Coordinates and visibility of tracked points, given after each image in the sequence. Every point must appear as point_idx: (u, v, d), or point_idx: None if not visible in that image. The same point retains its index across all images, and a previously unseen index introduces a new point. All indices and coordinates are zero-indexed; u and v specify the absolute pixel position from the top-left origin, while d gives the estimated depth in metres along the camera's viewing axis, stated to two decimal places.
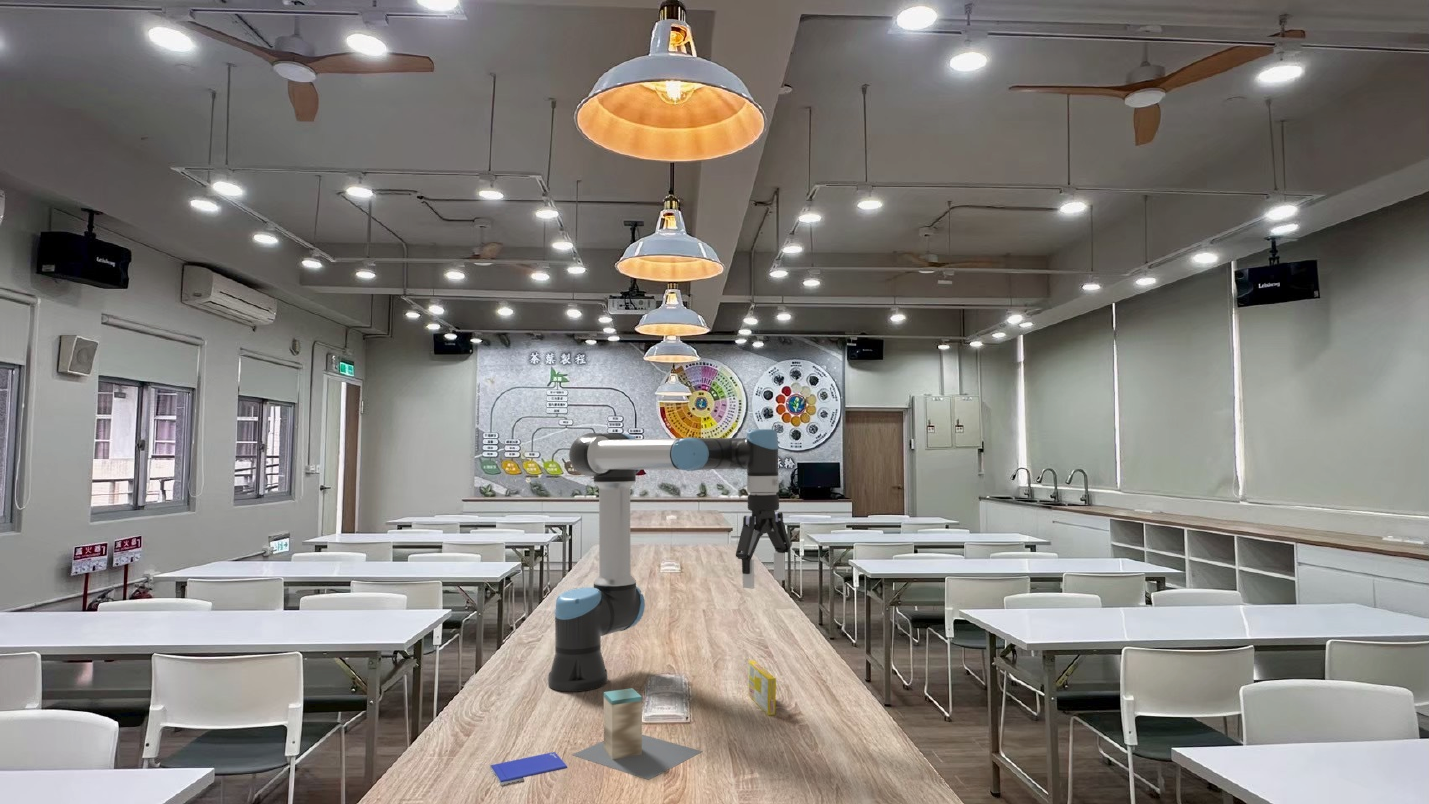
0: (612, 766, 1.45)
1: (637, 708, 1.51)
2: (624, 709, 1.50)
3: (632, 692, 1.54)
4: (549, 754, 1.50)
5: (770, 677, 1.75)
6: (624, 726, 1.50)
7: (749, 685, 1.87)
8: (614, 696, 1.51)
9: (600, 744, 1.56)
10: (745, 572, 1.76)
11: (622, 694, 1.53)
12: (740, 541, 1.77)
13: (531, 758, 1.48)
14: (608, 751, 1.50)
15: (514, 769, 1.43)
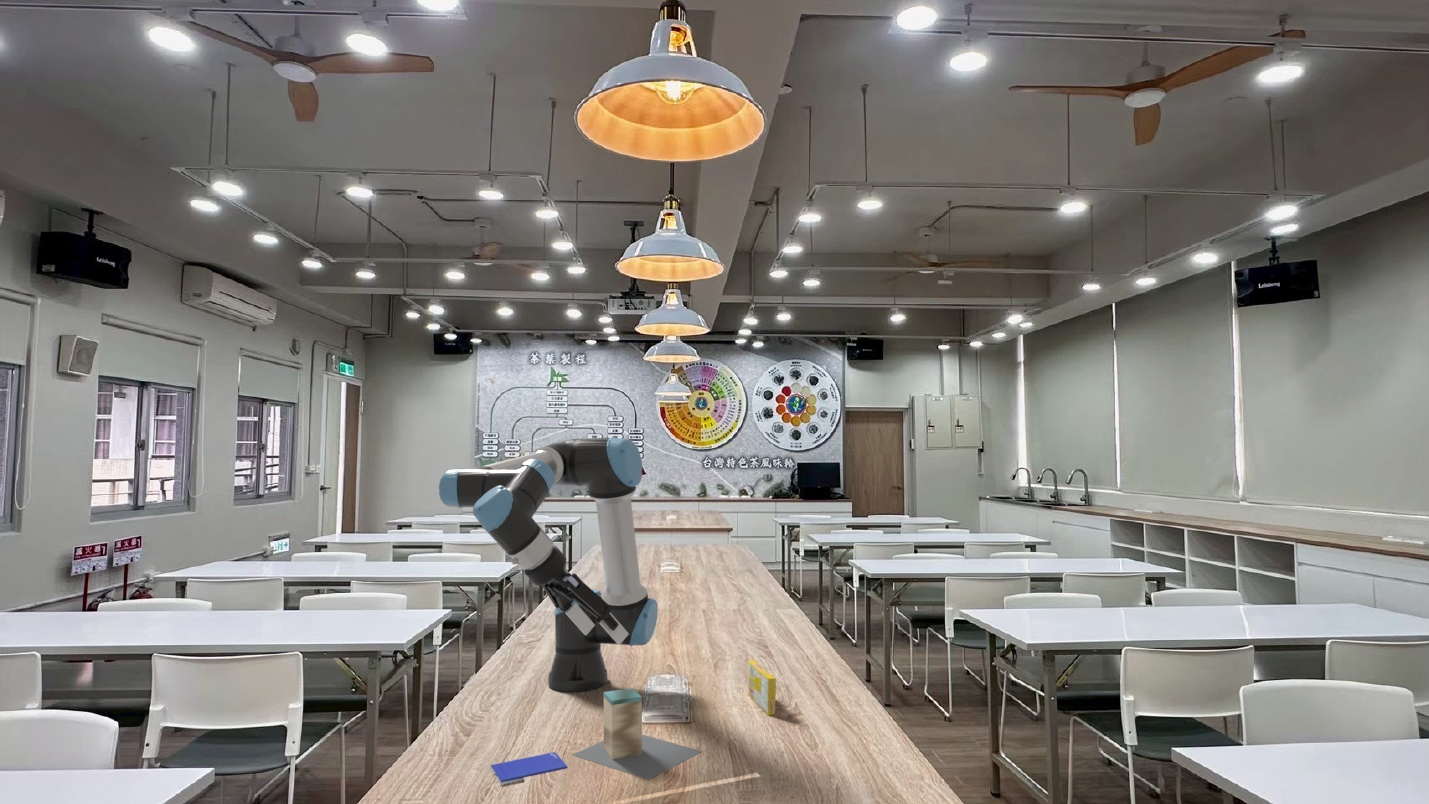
0: (612, 766, 1.45)
1: (637, 708, 1.51)
2: (624, 709, 1.50)
3: (632, 692, 1.54)
4: (549, 754, 1.50)
5: (770, 677, 1.75)
6: (624, 726, 1.50)
7: (749, 685, 1.87)
8: (614, 696, 1.51)
9: (600, 744, 1.56)
10: None
11: (622, 694, 1.53)
12: None
13: (531, 758, 1.48)
14: (608, 751, 1.50)
15: (514, 768, 1.43)
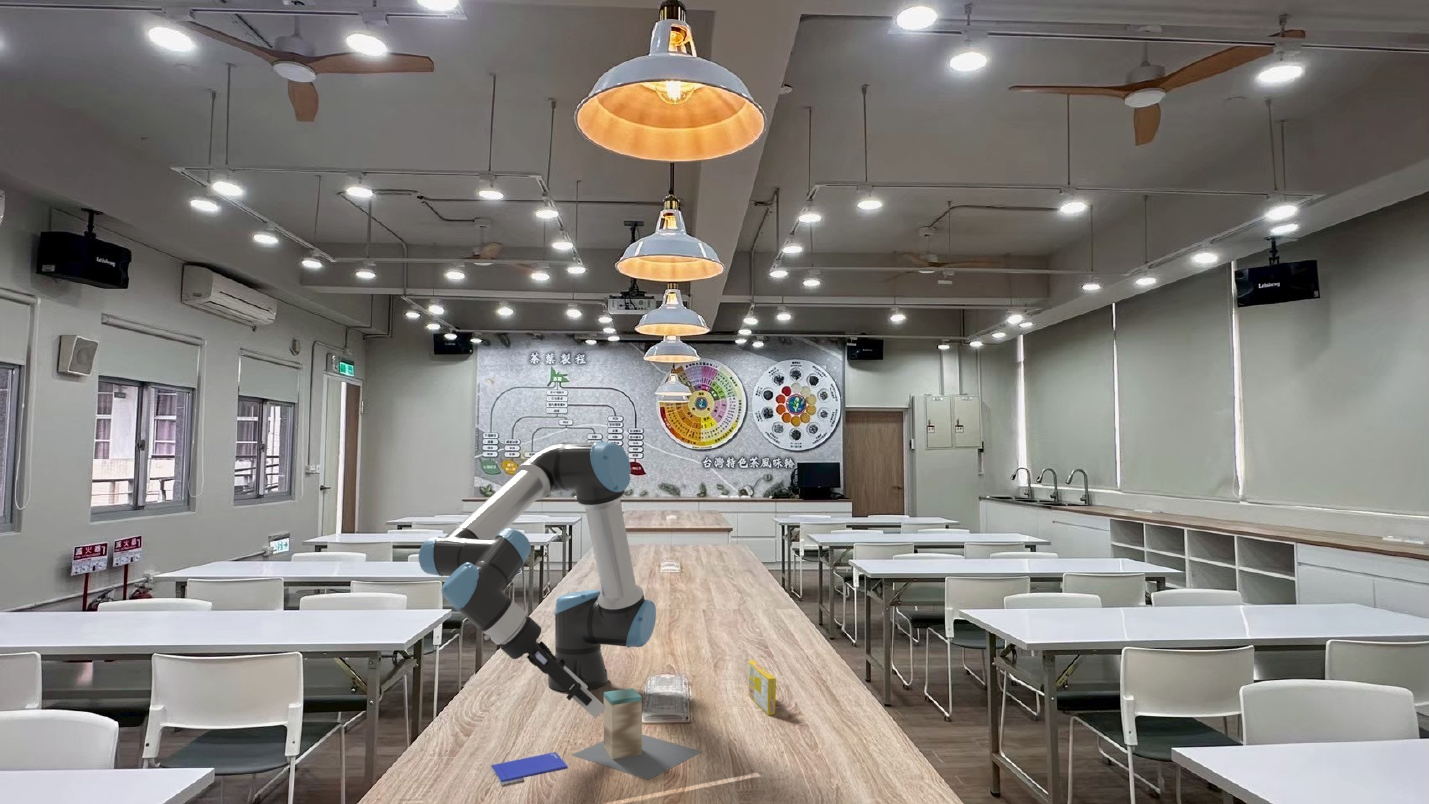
0: (612, 766, 1.45)
1: (637, 708, 1.51)
2: (624, 709, 1.50)
3: (632, 692, 1.54)
4: (549, 754, 1.50)
5: (770, 677, 1.75)
6: (624, 726, 1.50)
7: (749, 685, 1.87)
8: (614, 696, 1.51)
9: (600, 744, 1.56)
10: None
11: (622, 694, 1.53)
12: None
13: (532, 758, 1.48)
14: (608, 751, 1.50)
15: (514, 769, 1.43)
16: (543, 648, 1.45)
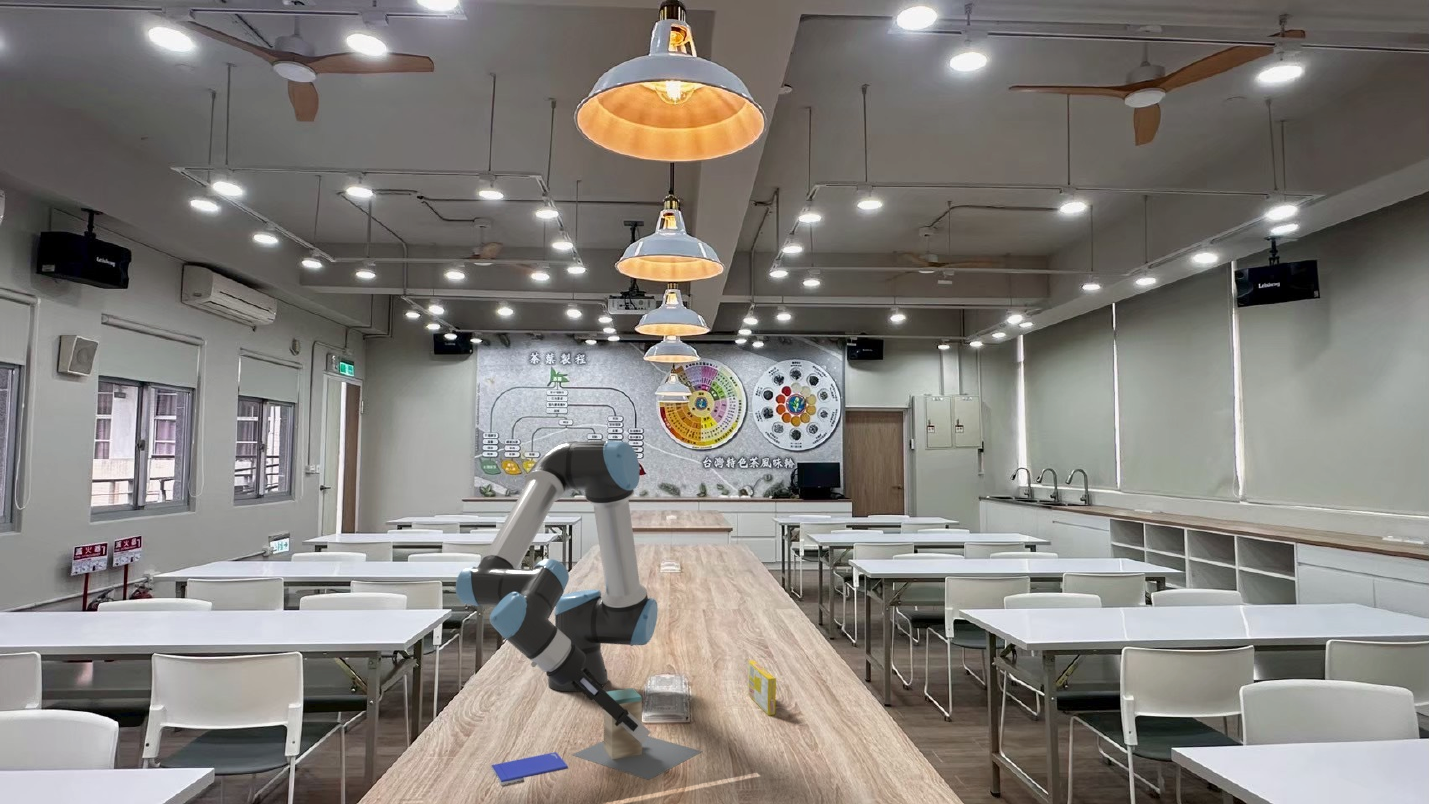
0: (612, 766, 1.45)
1: (637, 708, 1.51)
2: None
3: (632, 692, 1.54)
4: (550, 754, 1.50)
5: (770, 677, 1.75)
6: None
7: (749, 685, 1.87)
8: (614, 696, 1.51)
9: (600, 744, 1.56)
10: None
11: (622, 694, 1.53)
12: None
13: (532, 758, 1.48)
14: (608, 751, 1.50)
15: (514, 769, 1.43)
16: (589, 675, 1.48)
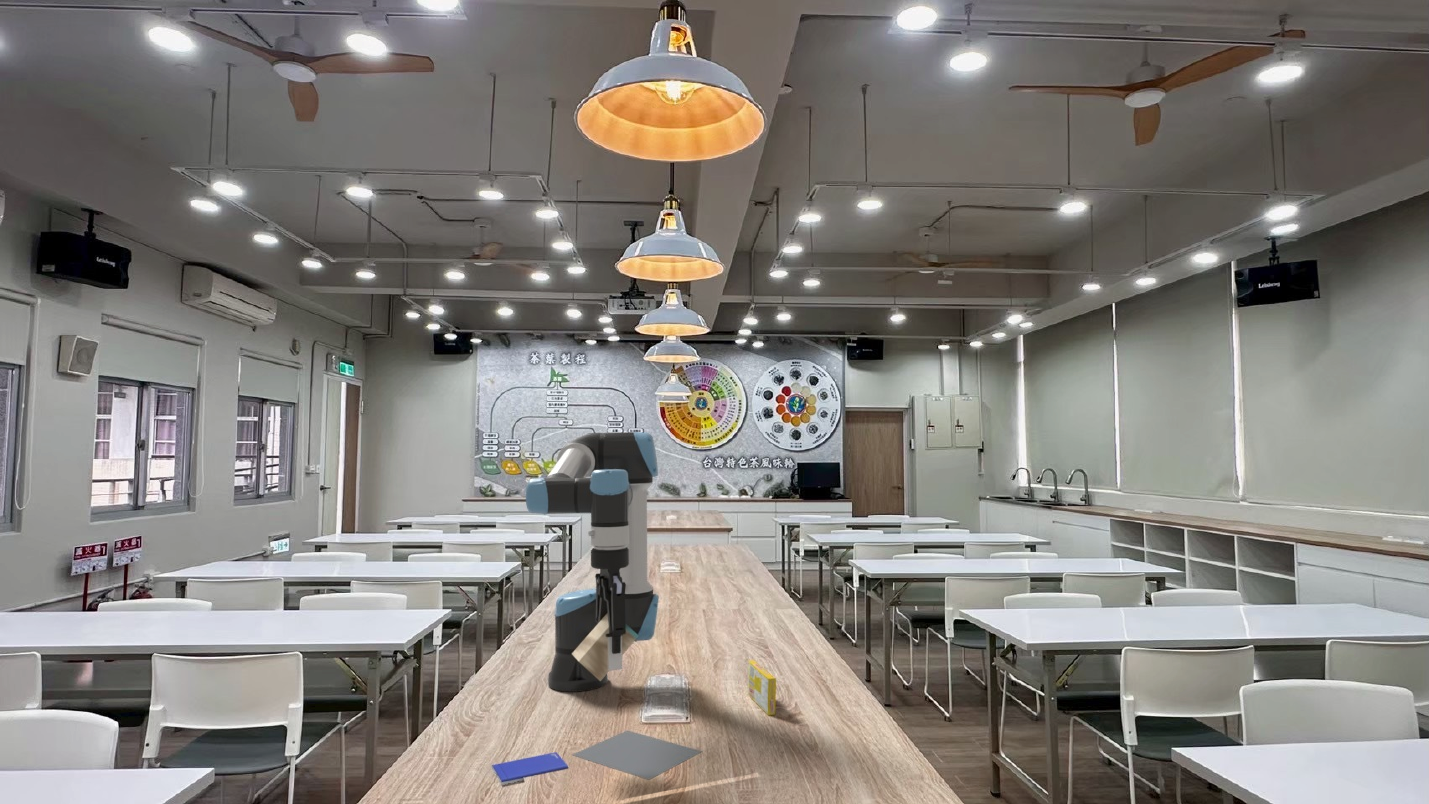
0: (612, 766, 1.45)
1: (628, 642, 1.51)
2: None
3: None
4: (550, 754, 1.50)
5: (770, 677, 1.75)
6: None
7: (749, 685, 1.87)
8: None
9: (600, 744, 1.56)
10: None
11: None
12: None
13: (532, 758, 1.48)
14: (577, 655, 1.49)
15: (515, 769, 1.43)
16: (619, 580, 1.52)
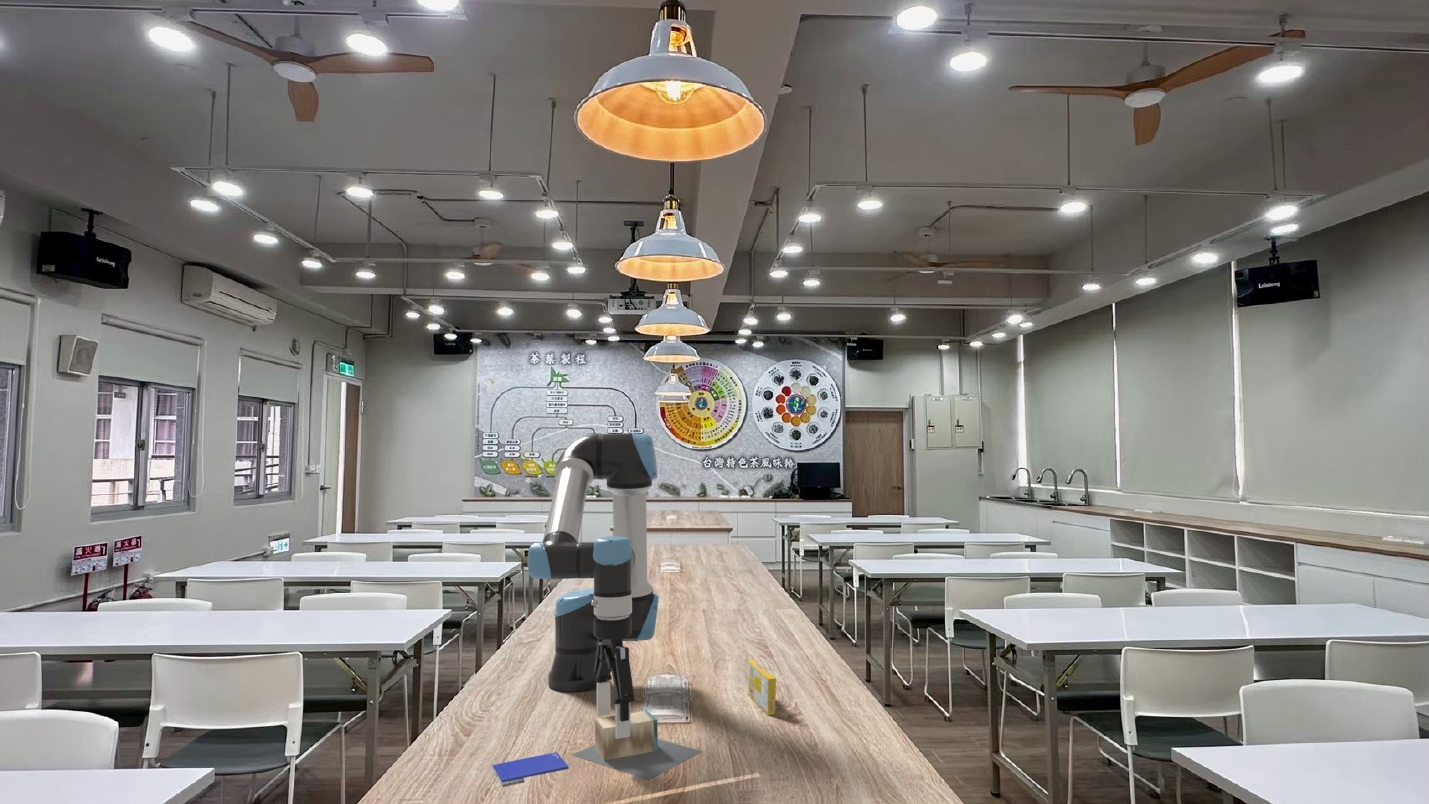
0: (612, 766, 1.45)
1: (647, 748, 1.51)
2: (648, 734, 1.52)
3: None
4: (551, 754, 1.50)
5: (770, 677, 1.75)
6: (632, 737, 1.50)
7: (749, 685, 1.87)
8: None
9: None
10: None
11: None
12: None
13: (533, 758, 1.48)
14: (602, 723, 1.51)
15: (515, 769, 1.43)
16: None
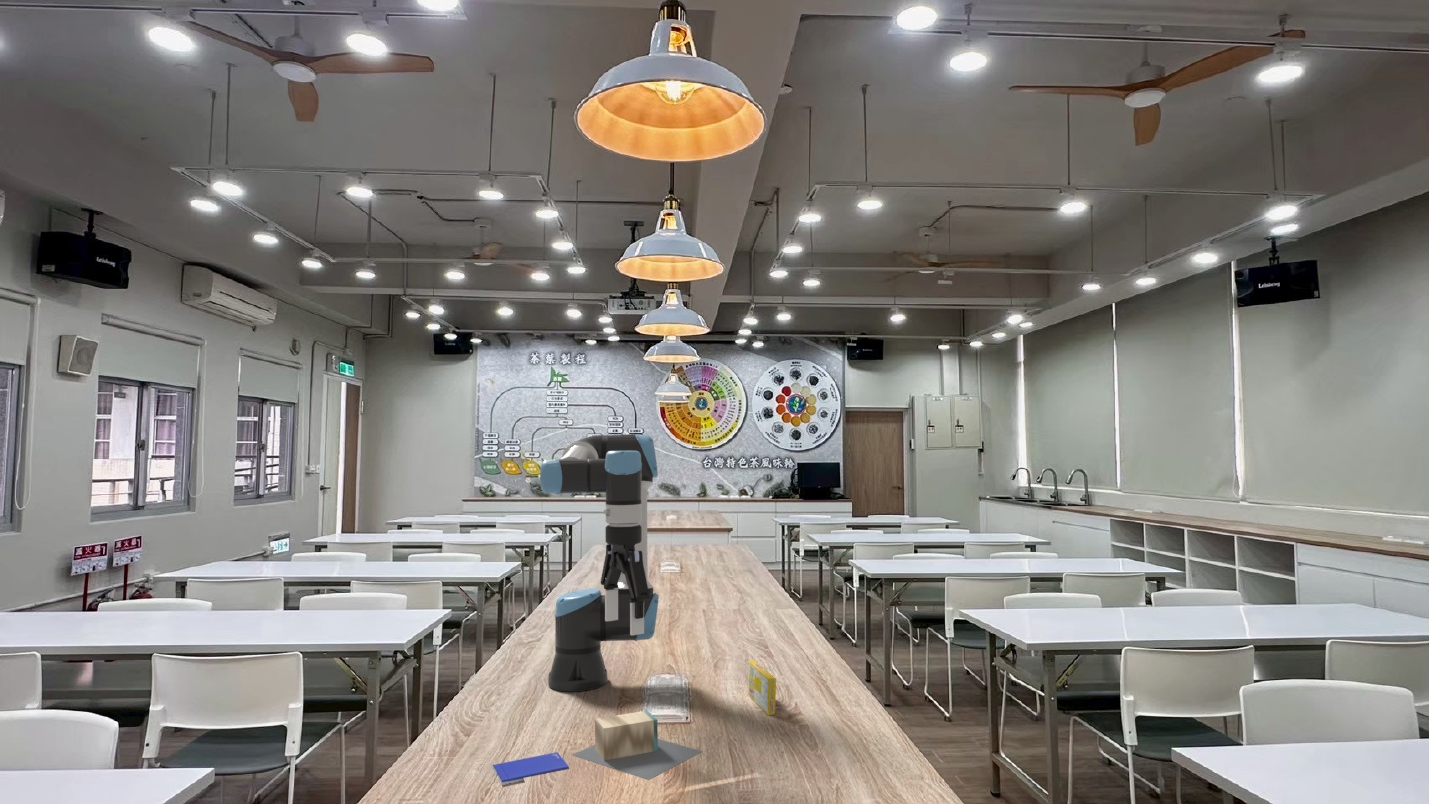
0: (612, 766, 1.45)
1: (647, 748, 1.51)
2: (648, 734, 1.52)
3: None
4: (551, 754, 1.50)
5: (770, 677, 1.75)
6: (632, 737, 1.50)
7: (749, 685, 1.87)
8: None
9: None
10: None
11: None
12: None
13: (533, 758, 1.48)
14: (602, 723, 1.51)
15: (515, 769, 1.43)
16: None
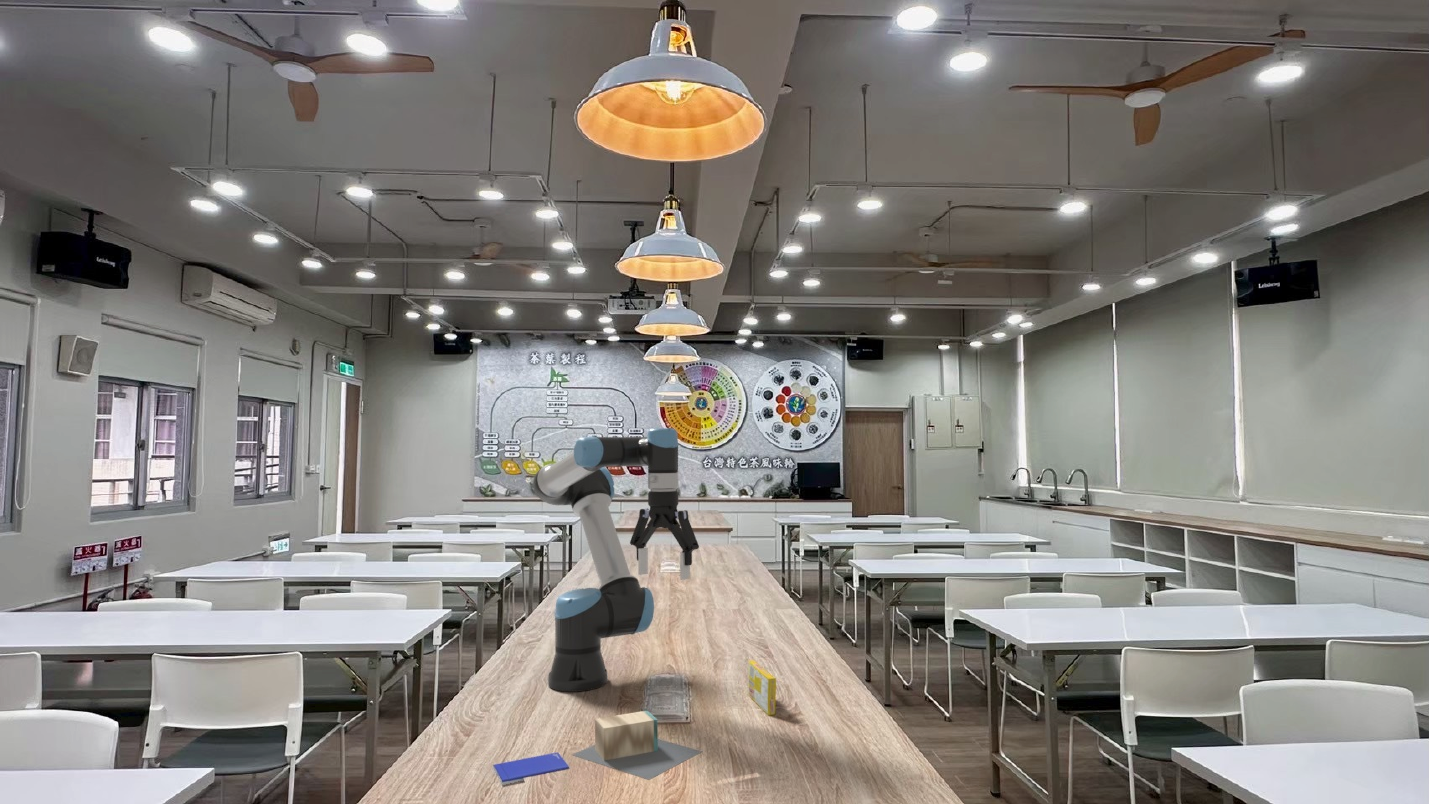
0: (612, 766, 1.45)
1: (647, 748, 1.51)
2: (648, 734, 1.52)
3: None
4: (552, 755, 1.50)
5: (770, 677, 1.75)
6: (632, 737, 1.50)
7: (749, 685, 1.87)
8: None
9: None
10: None
11: None
12: None
13: (534, 758, 1.48)
14: (602, 723, 1.51)
15: (516, 768, 1.43)
16: None
